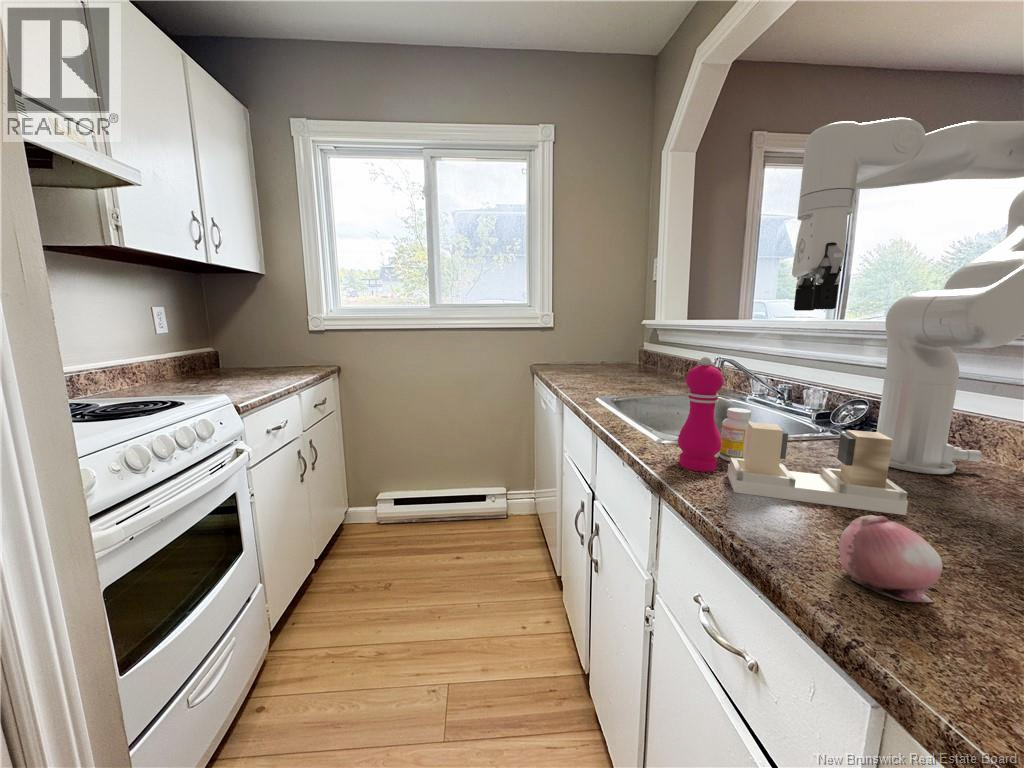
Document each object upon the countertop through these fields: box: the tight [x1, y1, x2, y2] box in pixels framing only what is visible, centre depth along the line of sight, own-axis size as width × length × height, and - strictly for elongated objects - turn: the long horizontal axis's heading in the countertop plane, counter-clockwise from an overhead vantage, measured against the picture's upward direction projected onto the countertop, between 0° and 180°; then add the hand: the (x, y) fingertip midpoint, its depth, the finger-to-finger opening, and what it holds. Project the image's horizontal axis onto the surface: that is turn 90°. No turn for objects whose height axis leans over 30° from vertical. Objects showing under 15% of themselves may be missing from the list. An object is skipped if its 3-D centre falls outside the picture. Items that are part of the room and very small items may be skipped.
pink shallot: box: [838, 514, 944, 604], centre depth 41 cm, size 8×8×7 cm
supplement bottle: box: [718, 407, 752, 462], centre depth 79 cm, size 5×5×10 cm
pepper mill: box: [677, 356, 724, 473], centre depth 74 cm, size 7×7×20 cm
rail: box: [727, 421, 909, 516], centre depth 63 cm, size 21×8×10 cm, turn 70°
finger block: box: [836, 429, 893, 488], centre depth 61 cm, size 5×4×8 cm
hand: (813, 309), depth 72 cm, fingers open, 9 cm apart
